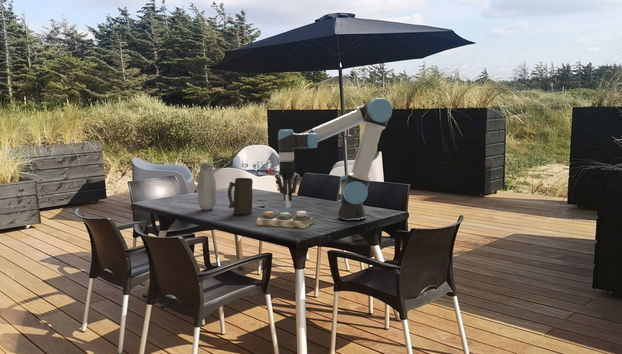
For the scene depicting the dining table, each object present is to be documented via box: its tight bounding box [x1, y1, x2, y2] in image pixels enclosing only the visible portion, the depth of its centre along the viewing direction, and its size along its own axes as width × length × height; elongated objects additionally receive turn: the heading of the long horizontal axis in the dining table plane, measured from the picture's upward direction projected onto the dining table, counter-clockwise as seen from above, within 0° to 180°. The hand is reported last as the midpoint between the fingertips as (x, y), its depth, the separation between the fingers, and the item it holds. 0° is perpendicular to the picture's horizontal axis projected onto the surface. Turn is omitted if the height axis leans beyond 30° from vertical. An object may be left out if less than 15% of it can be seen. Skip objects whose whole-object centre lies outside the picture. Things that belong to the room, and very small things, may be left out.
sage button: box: [279, 211, 291, 217], centre depth 260 cm, size 5×5×2 cm
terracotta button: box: [263, 210, 275, 216], centre depth 263 cm, size 5×5×2 cm
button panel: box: [256, 212, 314, 229], centre depth 260 cm, size 26×12×4 cm, turn 70°
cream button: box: [296, 210, 307, 217], centre depth 257 cm, size 5×5×2 cm
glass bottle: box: [197, 161, 217, 211], centre depth 300 cm, size 10×10×28 cm
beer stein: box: [227, 177, 254, 215], centre depth 287 cm, size 15×11×20 cm
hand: (288, 207), depth 259 cm, fingers closed
